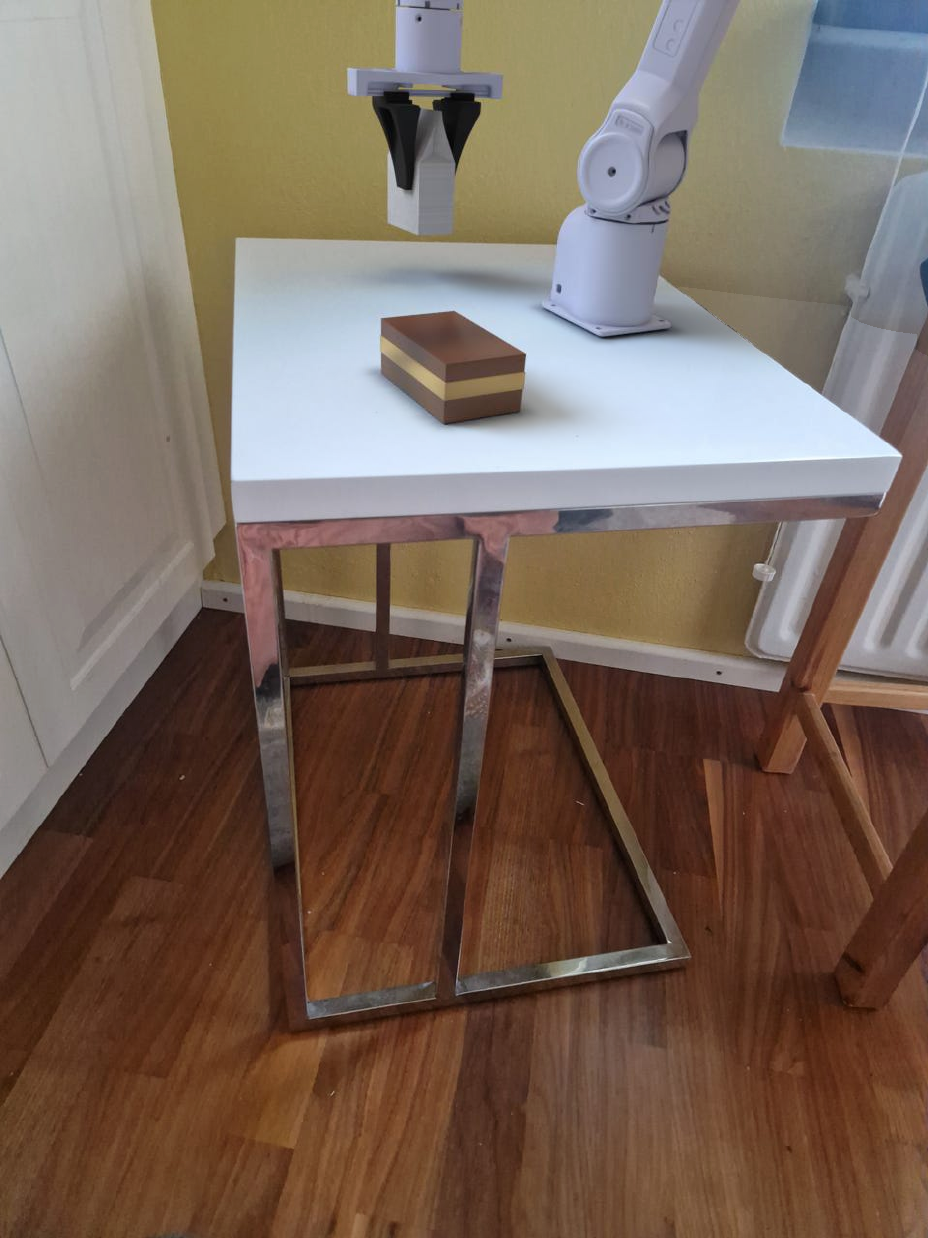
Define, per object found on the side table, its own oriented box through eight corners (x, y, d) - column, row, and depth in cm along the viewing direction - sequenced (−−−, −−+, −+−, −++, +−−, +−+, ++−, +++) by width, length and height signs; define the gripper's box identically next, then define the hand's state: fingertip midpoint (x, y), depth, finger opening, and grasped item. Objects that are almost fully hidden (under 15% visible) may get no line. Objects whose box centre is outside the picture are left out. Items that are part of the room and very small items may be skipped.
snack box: (379, 372, 61) (379, 317, 59) (452, 363, 64) (454, 310, 61) (443, 424, 54) (446, 364, 52) (521, 411, 57) (527, 353, 54)
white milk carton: (418, 235, 77) (420, 110, 72) (387, 222, 82) (387, 104, 77) (452, 233, 79) (457, 111, 73) (420, 221, 84) (422, 105, 78)
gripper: (479, 12, 76) (470, 178, 84) (331, 2, 70) (337, 182, 78) (520, 15, 71) (507, 190, 79) (365, 4, 65) (367, 196, 73)
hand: (425, 187), depth 78 cm, fingers closed on white milk carton, 4 cm apart
